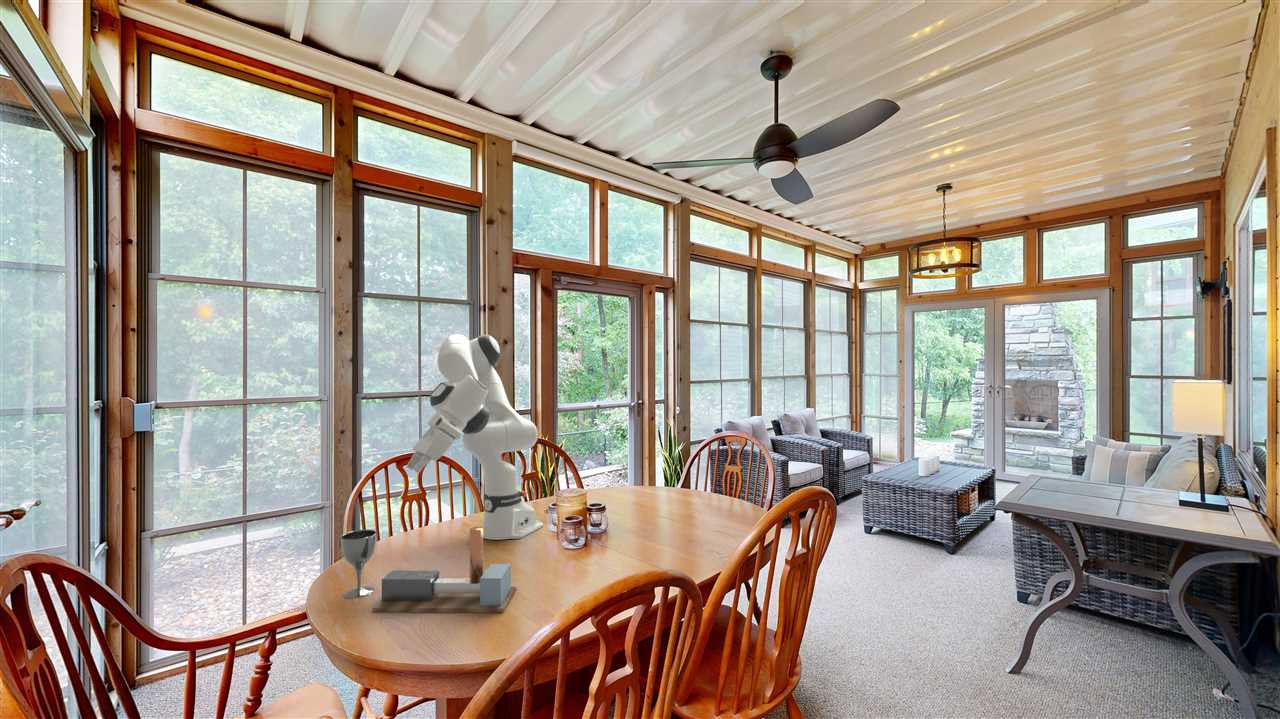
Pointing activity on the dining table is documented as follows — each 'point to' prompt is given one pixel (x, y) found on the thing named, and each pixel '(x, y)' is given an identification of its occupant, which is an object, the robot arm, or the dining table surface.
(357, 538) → the wine glass
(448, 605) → the walnut board
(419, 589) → the graphite sleeve
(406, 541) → the dining table surface
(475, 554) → the upright copper peg
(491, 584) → the socket block
